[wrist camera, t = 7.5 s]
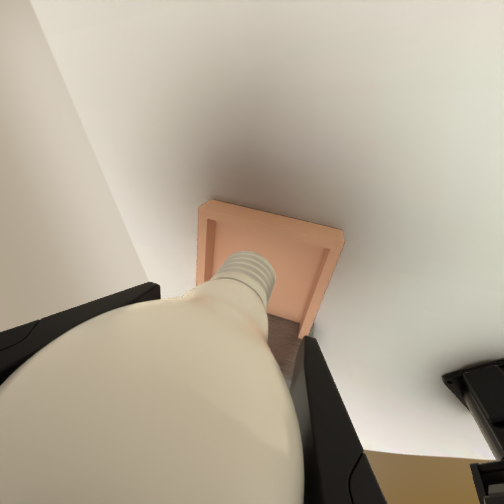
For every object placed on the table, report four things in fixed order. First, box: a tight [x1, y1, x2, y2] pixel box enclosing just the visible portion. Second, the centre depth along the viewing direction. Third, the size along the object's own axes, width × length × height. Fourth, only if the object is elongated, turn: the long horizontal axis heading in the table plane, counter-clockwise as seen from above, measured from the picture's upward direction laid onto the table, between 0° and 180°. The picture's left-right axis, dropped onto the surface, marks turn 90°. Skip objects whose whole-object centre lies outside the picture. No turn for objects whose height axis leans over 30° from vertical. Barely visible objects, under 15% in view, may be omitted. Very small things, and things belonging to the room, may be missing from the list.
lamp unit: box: [267, 313, 314, 390], centre depth 25 cm, size 18×8×9 cm, turn 171°
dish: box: [196, 199, 345, 339], centre depth 21 cm, size 12×12×2 cm
